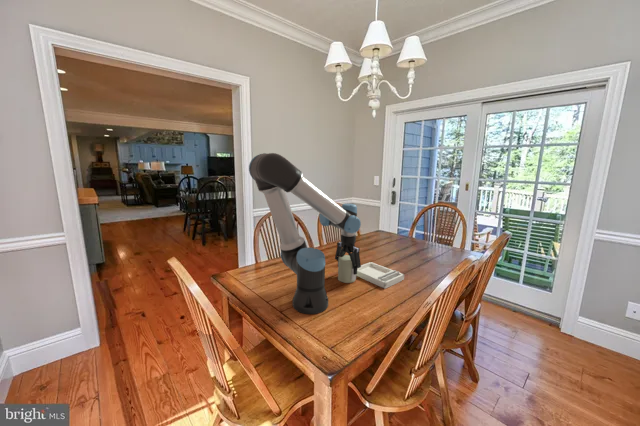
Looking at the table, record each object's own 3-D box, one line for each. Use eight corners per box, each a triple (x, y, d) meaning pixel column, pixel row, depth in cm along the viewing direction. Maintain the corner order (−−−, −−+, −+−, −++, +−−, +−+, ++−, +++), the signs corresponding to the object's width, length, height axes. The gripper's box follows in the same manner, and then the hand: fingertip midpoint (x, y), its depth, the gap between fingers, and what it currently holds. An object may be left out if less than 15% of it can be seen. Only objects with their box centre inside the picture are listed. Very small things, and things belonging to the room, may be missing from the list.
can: (354, 283, 131) (355, 261, 129) (336, 281, 133) (337, 259, 130) (356, 276, 140) (357, 254, 137) (339, 274, 141) (339, 253, 139)
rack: (385, 288, 126) (385, 281, 125) (351, 273, 143) (352, 266, 142) (403, 279, 136) (404, 272, 136) (370, 266, 153) (371, 260, 152)
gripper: (370, 238, 126) (367, 281, 130) (338, 229, 142) (337, 268, 146) (359, 240, 121) (357, 286, 125) (328, 231, 137) (327, 271, 142)
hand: (346, 276), depth 136 cm, fingers closed on can, 9 cm apart
